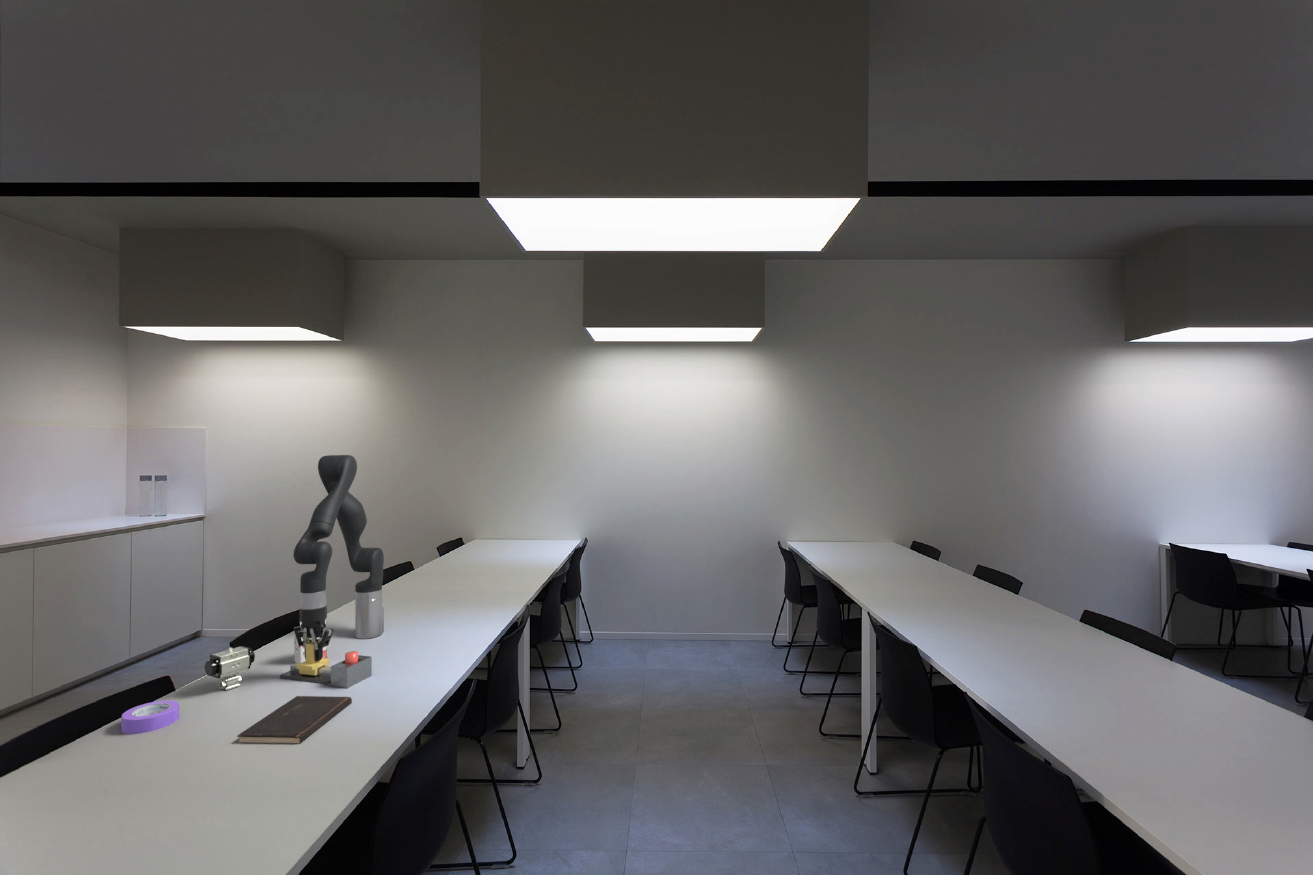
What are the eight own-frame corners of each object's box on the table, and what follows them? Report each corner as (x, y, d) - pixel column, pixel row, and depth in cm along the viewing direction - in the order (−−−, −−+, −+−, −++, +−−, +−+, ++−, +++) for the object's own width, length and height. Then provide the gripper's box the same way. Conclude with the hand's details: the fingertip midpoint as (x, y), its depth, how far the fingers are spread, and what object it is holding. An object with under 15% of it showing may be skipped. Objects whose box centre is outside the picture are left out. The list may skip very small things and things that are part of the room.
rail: (301, 668, 197) (301, 659, 197) (349, 674, 192) (349, 664, 192) (280, 677, 189) (279, 668, 189) (329, 684, 184) (329, 674, 184)
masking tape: (186, 711, 167) (186, 697, 167) (169, 729, 156) (169, 714, 156) (133, 718, 163) (133, 703, 163) (112, 738, 152) (112, 722, 152)
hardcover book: (237, 744, 149) (237, 735, 149) (296, 703, 172) (296, 695, 172) (300, 745, 148) (300, 736, 148) (352, 704, 171) (352, 696, 171)
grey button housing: (355, 673, 192) (355, 654, 192) (371, 675, 191) (371, 656, 191) (330, 686, 183) (330, 666, 183) (347, 688, 181) (347, 668, 181)
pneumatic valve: (204, 693, 178) (204, 652, 178) (246, 679, 188) (246, 640, 188) (214, 697, 175) (214, 655, 175) (256, 682, 186) (256, 643, 186)
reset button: (351, 666, 189) (351, 650, 189) (360, 667, 188) (360, 651, 188) (342, 670, 185) (342, 654, 186) (352, 672, 184) (352, 655, 185)
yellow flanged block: (315, 666, 195) (314, 638, 195) (330, 668, 193) (330, 639, 193) (296, 674, 188) (296, 645, 188) (312, 676, 186) (312, 647, 187)
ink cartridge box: (320, 655, 210) (320, 612, 210) (327, 658, 207) (326, 614, 207) (293, 662, 203) (293, 618, 203) (300, 665, 200) (300, 620, 200)
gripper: (340, 603, 192) (341, 657, 192) (305, 600, 196) (305, 653, 196) (321, 609, 185) (321, 666, 185) (285, 606, 189) (285, 662, 189)
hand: (313, 659), depth 191 cm, fingers closed on yellow flanged block, 3 cm apart
